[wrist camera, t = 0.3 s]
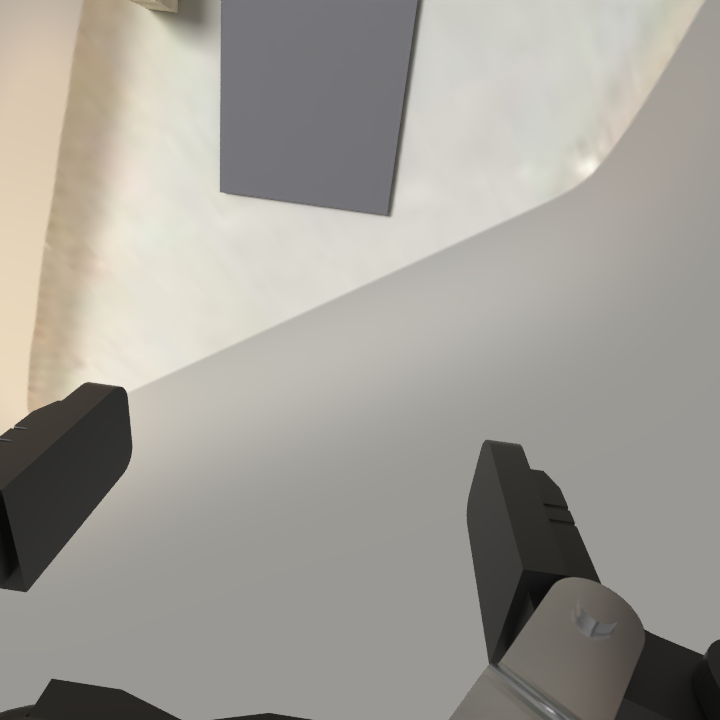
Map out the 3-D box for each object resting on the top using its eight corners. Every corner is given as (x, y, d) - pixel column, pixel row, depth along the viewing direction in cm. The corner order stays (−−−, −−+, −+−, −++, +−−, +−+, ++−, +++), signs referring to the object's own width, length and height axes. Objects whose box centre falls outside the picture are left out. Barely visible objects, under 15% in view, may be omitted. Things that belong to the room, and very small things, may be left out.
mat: (225, -184, 28) (222, -191, 27) (440, -158, 28) (440, -164, 27) (222, 191, 36) (219, 191, 36) (387, 214, 36) (387, 215, 35)
